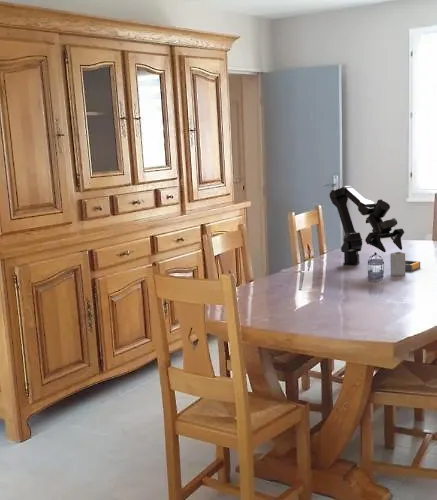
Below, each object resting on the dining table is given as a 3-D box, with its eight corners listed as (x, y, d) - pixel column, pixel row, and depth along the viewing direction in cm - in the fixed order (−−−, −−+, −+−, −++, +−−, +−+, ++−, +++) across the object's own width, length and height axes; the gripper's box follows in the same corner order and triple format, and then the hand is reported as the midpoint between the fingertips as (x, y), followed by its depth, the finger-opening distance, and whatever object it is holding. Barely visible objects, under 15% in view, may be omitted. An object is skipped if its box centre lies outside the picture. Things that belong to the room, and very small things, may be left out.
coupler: (393, 269, 307) (393, 263, 306) (402, 266, 313) (402, 260, 313) (411, 271, 301) (411, 265, 300) (420, 268, 307) (420, 261, 307)
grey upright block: (390, 274, 296) (390, 252, 295) (399, 273, 298) (399, 251, 297) (396, 276, 293) (396, 253, 291) (405, 274, 295) (405, 252, 293)
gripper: (368, 215, 295) (384, 241, 287) (401, 211, 302) (418, 237, 294) (358, 230, 303) (373, 257, 295) (390, 226, 310) (406, 252, 302)
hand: (393, 250), depth 296 cm, fingers open, 9 cm apart
